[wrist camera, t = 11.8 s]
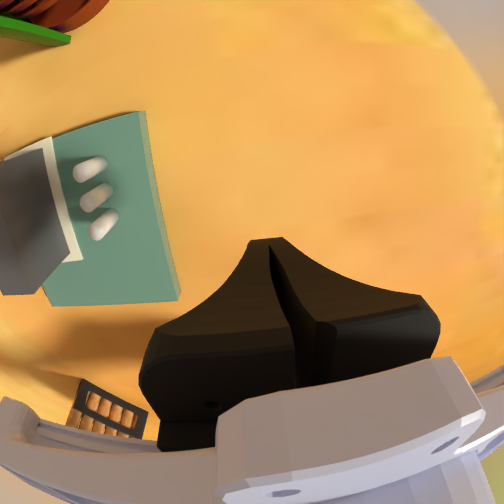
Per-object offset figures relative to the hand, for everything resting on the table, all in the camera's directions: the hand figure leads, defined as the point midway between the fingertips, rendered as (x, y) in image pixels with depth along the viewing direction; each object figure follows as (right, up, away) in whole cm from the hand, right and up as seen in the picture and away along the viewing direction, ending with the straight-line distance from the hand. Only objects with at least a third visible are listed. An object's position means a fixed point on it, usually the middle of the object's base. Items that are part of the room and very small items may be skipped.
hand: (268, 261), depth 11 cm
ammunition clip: (-20, -20, +21) cm, 36 cm away
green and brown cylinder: (-15, +21, 0) cm, 26 cm away
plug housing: (-18, +4, +7) cm, 20 cm away
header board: (-14, +3, +9) cm, 17 cm away
